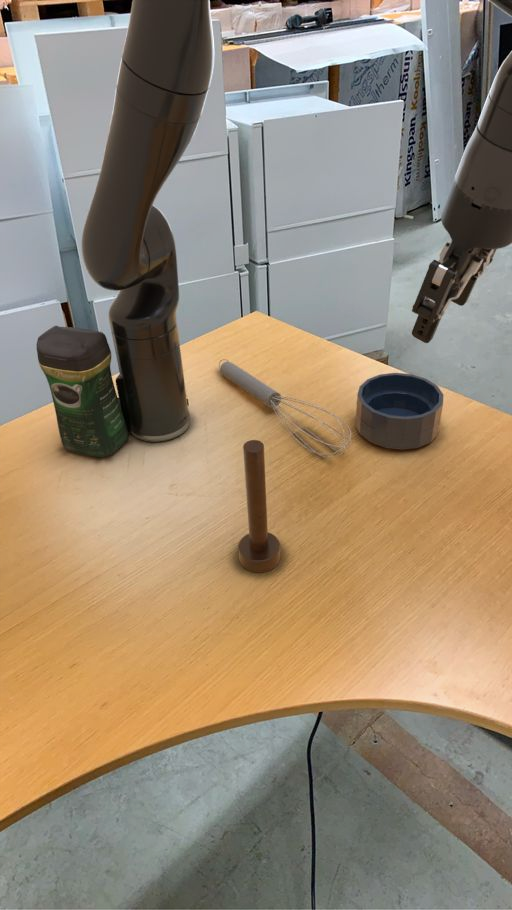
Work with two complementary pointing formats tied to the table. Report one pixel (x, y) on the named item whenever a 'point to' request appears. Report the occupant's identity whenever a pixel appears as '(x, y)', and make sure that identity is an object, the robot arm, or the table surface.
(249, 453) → the brown peg stand
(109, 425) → the coffee jar
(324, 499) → the table surface
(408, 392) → the bowl
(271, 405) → the kitchen whisk
